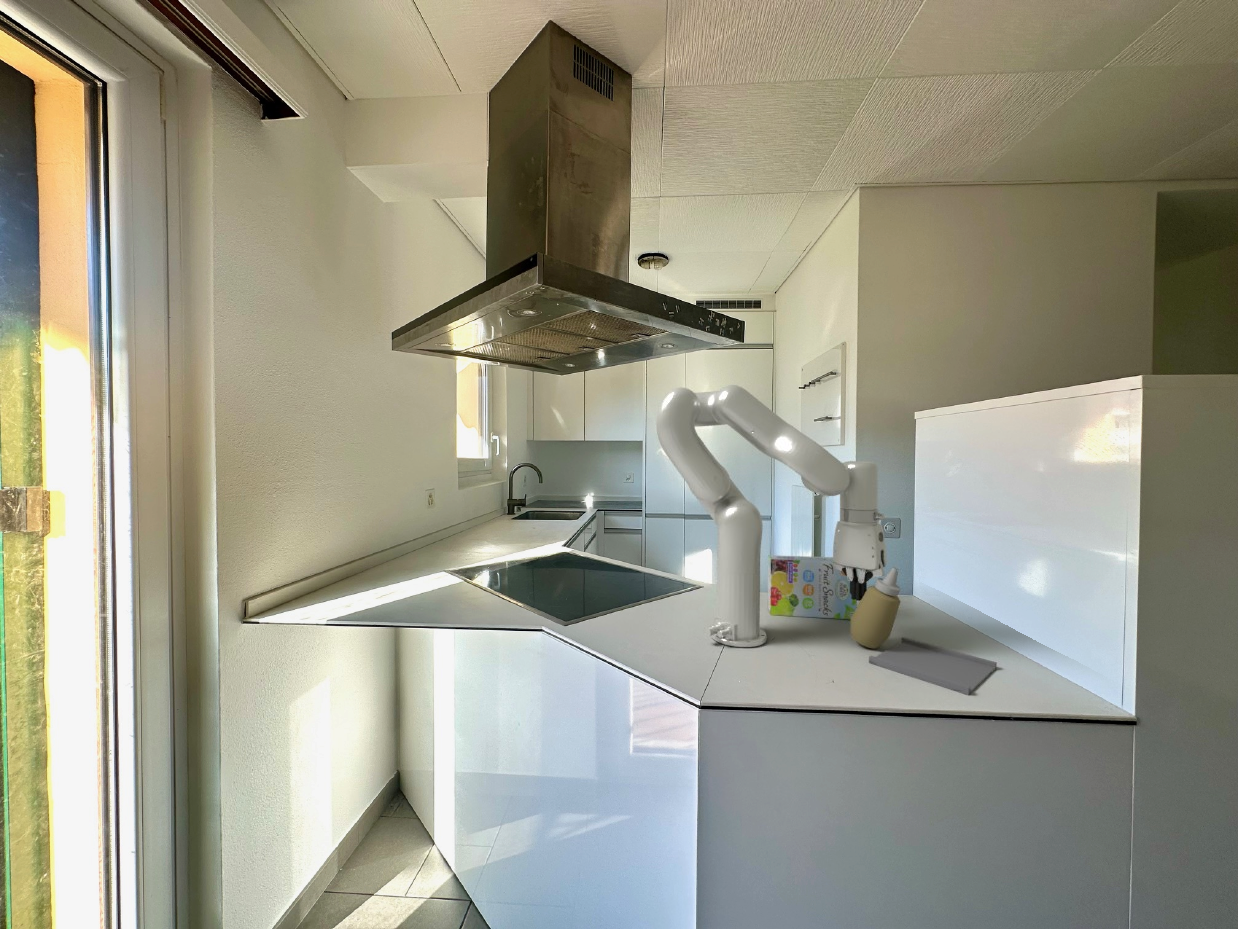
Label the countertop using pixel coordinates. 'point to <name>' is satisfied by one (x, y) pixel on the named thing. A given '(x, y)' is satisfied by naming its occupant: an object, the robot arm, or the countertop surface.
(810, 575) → the snack box
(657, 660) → the countertop surface
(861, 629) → the squeeze bottle
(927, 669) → the mat
